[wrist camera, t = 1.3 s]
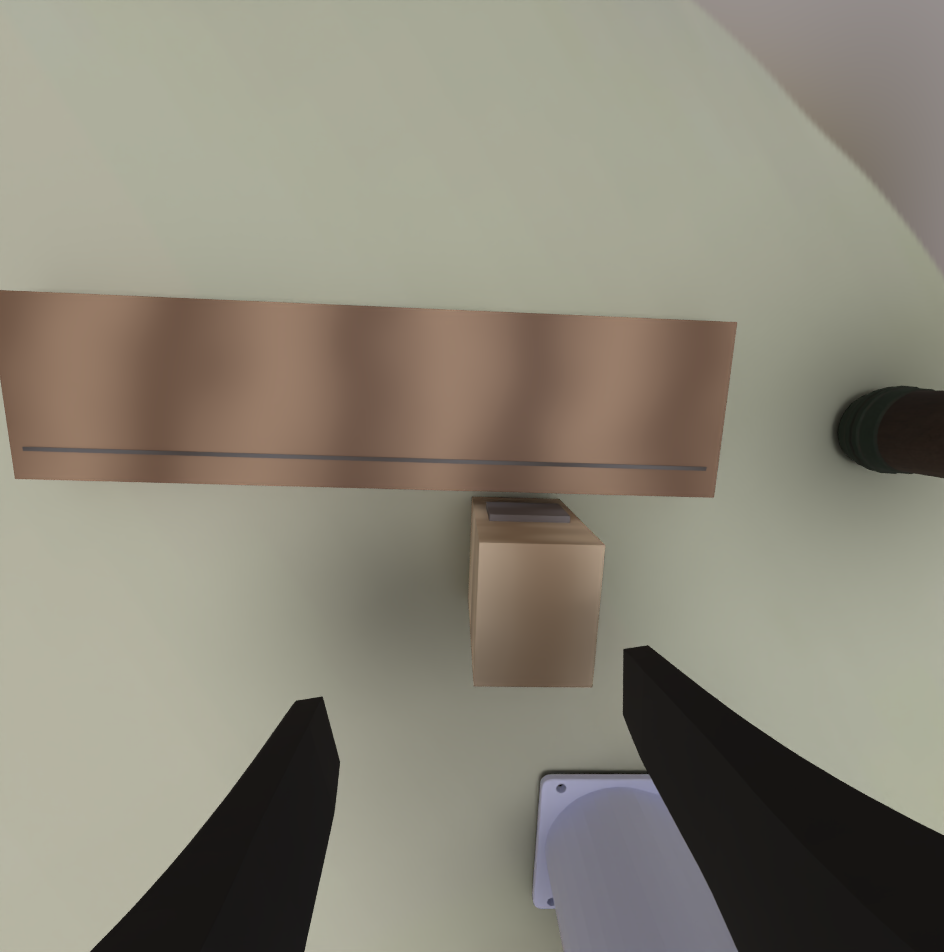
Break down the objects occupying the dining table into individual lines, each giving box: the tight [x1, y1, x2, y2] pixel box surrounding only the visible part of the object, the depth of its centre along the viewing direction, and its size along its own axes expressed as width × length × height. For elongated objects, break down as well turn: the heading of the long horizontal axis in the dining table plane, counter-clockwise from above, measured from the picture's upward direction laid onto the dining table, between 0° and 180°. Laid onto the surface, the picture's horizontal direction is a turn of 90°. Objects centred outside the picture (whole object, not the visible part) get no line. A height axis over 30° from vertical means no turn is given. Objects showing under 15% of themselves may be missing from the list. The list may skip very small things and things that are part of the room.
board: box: [0, 290, 737, 498], centre depth 18 cm, size 28×7×2 cm, turn 88°
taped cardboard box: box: [468, 497, 605, 687], centre depth 18 cm, size 4×5×6 cm
